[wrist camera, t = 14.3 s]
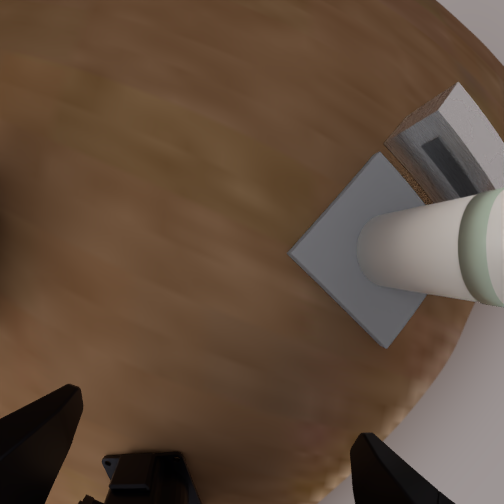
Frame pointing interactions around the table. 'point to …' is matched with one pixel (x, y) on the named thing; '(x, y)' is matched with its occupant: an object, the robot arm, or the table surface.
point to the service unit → (450, 147)
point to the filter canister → (439, 249)
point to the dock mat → (345, 250)
